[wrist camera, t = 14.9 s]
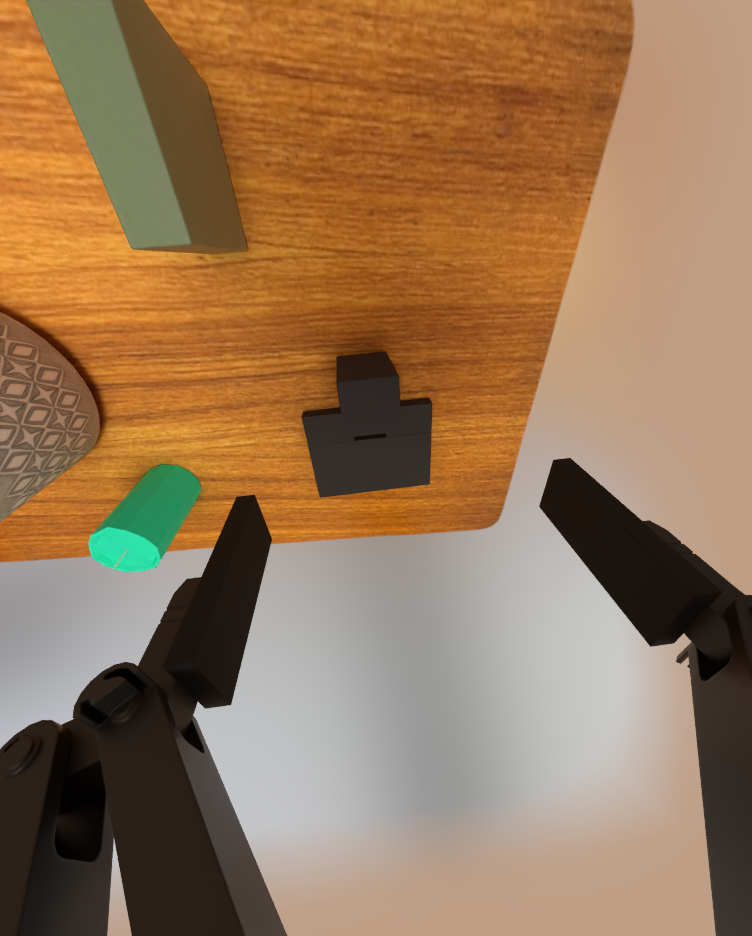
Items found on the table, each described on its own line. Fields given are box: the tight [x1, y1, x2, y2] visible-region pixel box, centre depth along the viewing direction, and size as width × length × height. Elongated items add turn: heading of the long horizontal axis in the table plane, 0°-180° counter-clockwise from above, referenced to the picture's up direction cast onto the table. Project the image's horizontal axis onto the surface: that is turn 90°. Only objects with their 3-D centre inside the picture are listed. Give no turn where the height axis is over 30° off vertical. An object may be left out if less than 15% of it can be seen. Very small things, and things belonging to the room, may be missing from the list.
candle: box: [89, 464, 201, 572], centre depth 32 cm, size 6×6×12 cm
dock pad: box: [302, 398, 432, 498], centre depth 36 cm, size 14×11×2 cm
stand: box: [26, 0, 248, 254], centre depth 18 cm, size 3×9×12 cm, turn 4°
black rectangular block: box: [337, 352, 401, 438], centre depth 30 cm, size 5×8×8 cm, turn 4°
